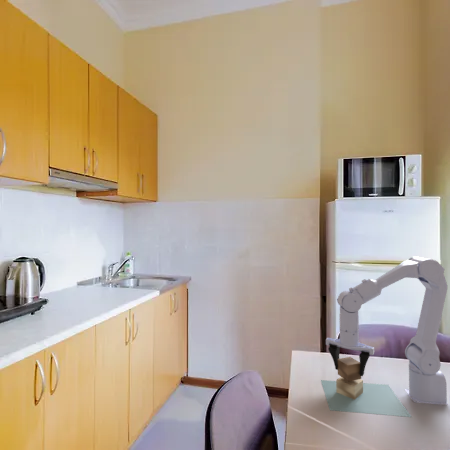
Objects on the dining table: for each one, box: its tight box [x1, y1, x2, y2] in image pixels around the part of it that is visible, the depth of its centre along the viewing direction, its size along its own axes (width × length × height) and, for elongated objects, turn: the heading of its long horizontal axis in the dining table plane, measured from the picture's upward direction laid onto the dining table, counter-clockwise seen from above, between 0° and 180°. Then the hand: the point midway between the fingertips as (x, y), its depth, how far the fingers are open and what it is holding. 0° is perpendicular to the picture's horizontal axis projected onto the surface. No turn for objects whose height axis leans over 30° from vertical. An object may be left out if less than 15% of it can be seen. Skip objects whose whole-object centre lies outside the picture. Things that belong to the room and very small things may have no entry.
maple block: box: [335, 376, 364, 400], centre depth 100 cm, size 6×6×4 cm
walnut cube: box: [337, 356, 362, 381], centre depth 100 cm, size 5×5×5 cm
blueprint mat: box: [320, 379, 412, 418], centre depth 97 cm, size 22×18×1 cm
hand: (349, 371), depth 100 cm, fingers closed on walnut cube, 7 cm apart
